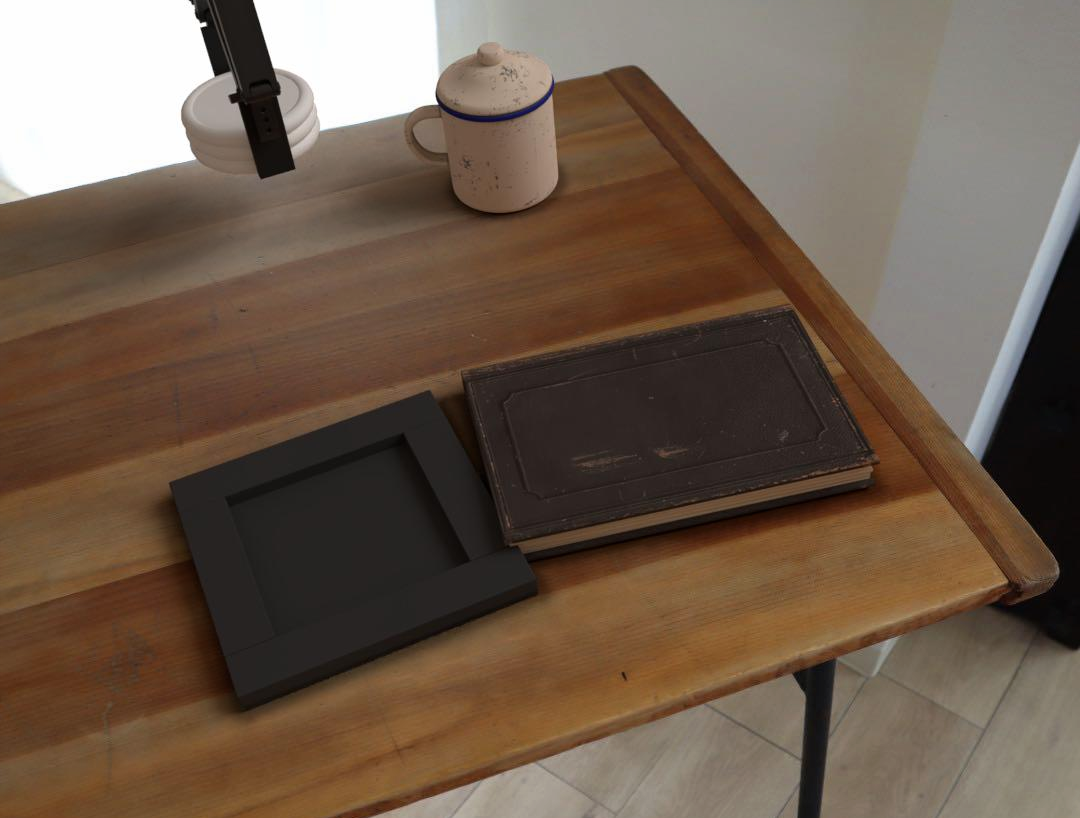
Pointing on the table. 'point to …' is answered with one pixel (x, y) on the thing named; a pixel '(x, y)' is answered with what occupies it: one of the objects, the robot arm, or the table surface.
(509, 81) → the teacup with lid
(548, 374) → the hardcover book
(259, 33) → the robot arm
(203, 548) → the base pad
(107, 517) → the table surface
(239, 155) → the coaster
